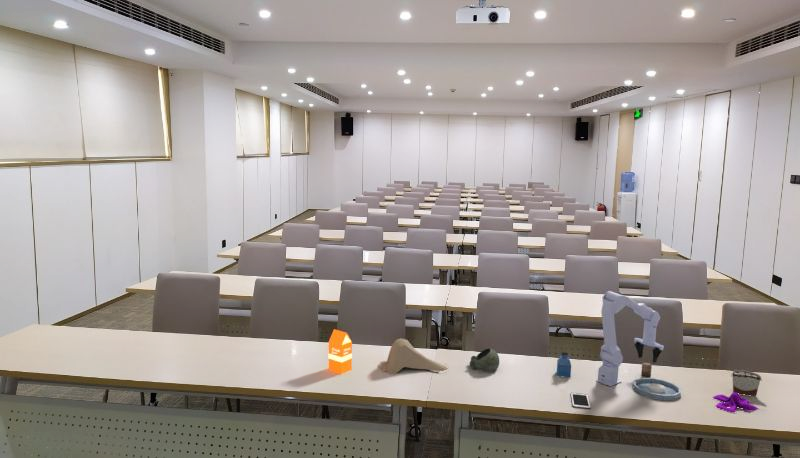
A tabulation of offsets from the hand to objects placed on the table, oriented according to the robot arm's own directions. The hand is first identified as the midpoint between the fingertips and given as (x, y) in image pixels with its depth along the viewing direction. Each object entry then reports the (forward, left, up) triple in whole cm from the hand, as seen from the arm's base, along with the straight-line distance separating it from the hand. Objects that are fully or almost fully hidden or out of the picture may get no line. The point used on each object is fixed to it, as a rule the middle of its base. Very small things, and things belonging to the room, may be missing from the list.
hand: (647, 359), depth 285 cm
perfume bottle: (-34, +24, -9) cm, 43 cm away
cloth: (+3, -42, -9) cm, 43 cm away
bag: (-91, +72, -9) cm, 117 cm away
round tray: (-13, -13, -8) cm, 20 cm away
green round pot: (-61, +52, -9) cm, 81 cm away
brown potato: (0, 0, -8) cm, 8 cm away
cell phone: (-53, 0, -9) cm, 54 cm away
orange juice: (-124, +90, -9) cm, 154 cm away
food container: (+20, -37, -9) cm, 43 cm away
